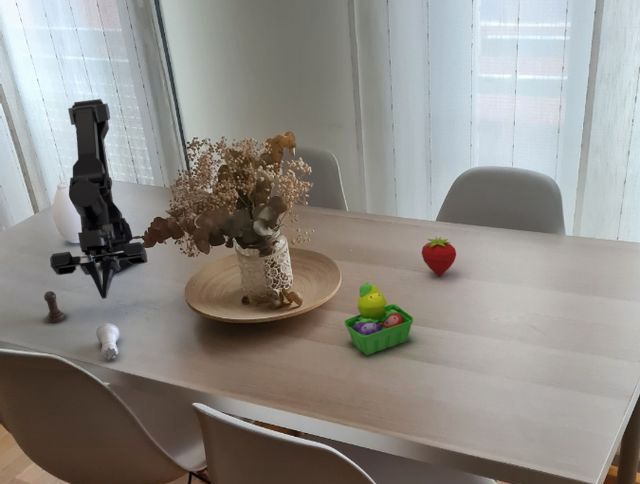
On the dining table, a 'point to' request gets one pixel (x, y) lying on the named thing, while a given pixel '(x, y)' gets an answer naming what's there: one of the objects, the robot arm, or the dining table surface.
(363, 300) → the fruit basket
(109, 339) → the rook chess piece
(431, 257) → the strawberry
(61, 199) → the sauce bottle
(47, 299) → the walnut pawn
